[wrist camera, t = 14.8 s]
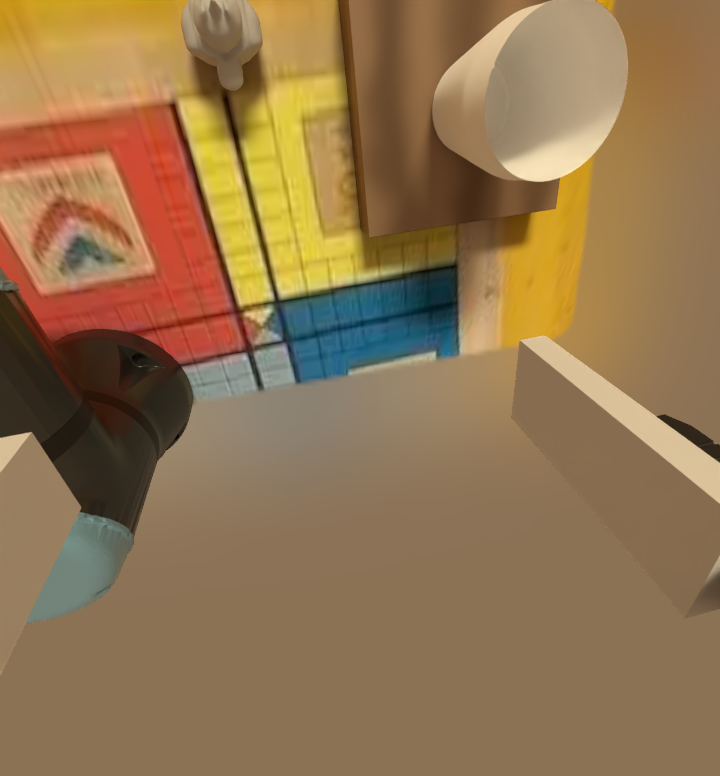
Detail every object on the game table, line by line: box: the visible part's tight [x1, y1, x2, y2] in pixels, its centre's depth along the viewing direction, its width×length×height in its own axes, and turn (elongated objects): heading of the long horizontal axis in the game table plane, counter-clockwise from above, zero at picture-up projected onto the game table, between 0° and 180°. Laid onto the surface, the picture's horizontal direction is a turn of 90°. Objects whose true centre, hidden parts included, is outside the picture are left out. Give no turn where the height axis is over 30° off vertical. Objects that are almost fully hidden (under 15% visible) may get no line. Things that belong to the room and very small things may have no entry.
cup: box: [432, 0, 628, 182], centre depth 29 cm, size 9×9×12 cm
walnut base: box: [339, 0, 560, 237], centre depth 36 cm, size 18×18×4 cm
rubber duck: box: [181, 0, 262, 91], centre depth 29 cm, size 5×7×8 cm
